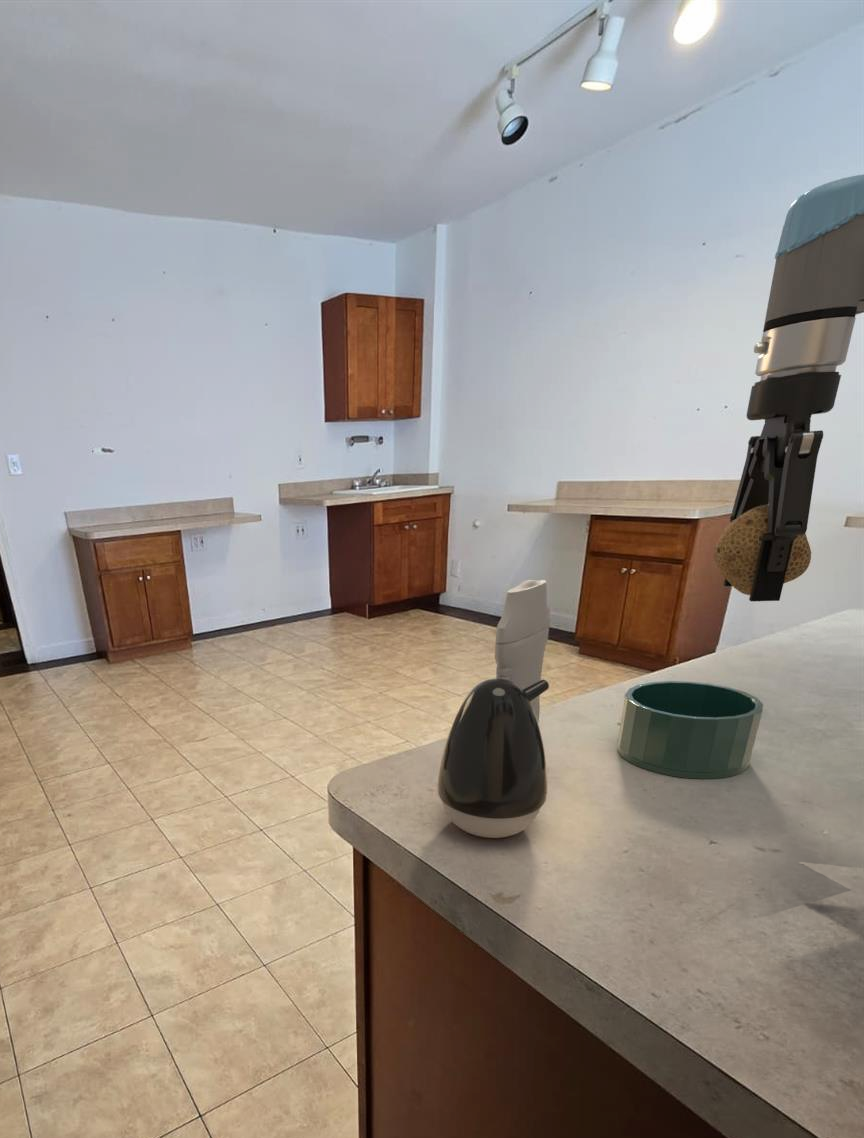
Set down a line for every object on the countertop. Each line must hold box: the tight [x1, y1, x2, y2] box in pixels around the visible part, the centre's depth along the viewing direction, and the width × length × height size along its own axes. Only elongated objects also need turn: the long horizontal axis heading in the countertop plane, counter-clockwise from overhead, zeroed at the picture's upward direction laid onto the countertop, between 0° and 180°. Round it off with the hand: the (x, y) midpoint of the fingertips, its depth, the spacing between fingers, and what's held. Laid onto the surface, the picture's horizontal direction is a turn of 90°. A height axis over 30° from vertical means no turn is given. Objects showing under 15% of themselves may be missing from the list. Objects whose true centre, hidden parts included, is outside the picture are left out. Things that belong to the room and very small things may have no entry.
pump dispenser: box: [437, 677, 550, 839], centre depth 61 cm, size 10×10×15 cm
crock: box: [616, 680, 764, 780], centre depth 74 cm, size 13×13×7 cm
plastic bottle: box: [494, 579, 551, 725], centre depth 69 cm, size 11×4×22 cm, turn 135°
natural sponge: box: [713, 505, 812, 596], centre depth 74 cm, size 9×9×10 cm
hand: (749, 592), depth 76 cm, fingers closed on natural sponge, 9 cm apart
